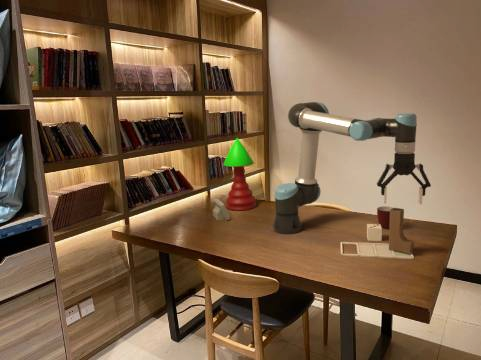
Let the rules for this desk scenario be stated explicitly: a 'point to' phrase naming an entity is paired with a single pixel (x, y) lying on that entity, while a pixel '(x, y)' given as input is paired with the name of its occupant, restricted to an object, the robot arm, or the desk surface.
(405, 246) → the wooden block
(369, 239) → the die
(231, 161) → the table lamp
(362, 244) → the track board
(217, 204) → the grey lumpy piece
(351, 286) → the desk surface
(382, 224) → the mug
